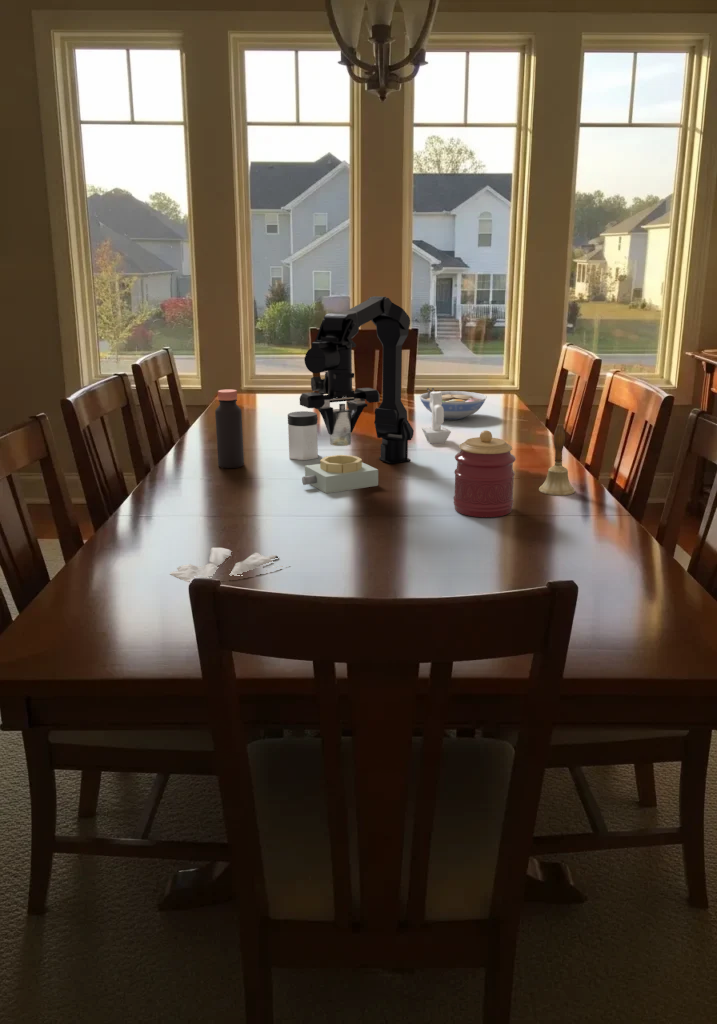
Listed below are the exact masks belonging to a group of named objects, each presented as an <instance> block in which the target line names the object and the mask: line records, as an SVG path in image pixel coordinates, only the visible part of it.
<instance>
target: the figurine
mask: <svg viewBox="0 0 717 1024" xmlns="http://www.w3.org/2000/svg"><path fill="white" fill-rule="evenodd" d="M441 391H442V390H439V392H438V391H435V392H434V391H431V393H430V409H431V410H432V412H431V427H421V430H422V432H423V434H424V436H425V439H426V441H427V442H428V443H429V444H431V445H432V444H433V445H436V444H446V442H447V440H448V438H449V436H450V435H451V433H452V431H451V430H450V429H448V428H447V427H445V426H441V425H443V424H444V422H445V421H444V420H445V419H444V409H443V407H442V406H441V404H442V392H441Z"/></svg>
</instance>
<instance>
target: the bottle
mask: <svg viewBox="0 0 717 1024" xmlns="http://www.w3.org/2000/svg"><path fill="white" fill-rule="evenodd" d="M217 399H218V402H219V405H218V406H217V408H216V409H215V411H214V414H215V415H214V416H215V428H216V429H215V430H216V432H215V433H216V447H217V448H216V450H217V465H218V466H219V468H222V469H238V468H241V467H243V466H244V465H245V453H244V441H243V440H244V436H243V435H244V433H243V415H242V409H241V407H240V406H238V405H237V401H238V390H237V389H219V390H217Z"/></svg>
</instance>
